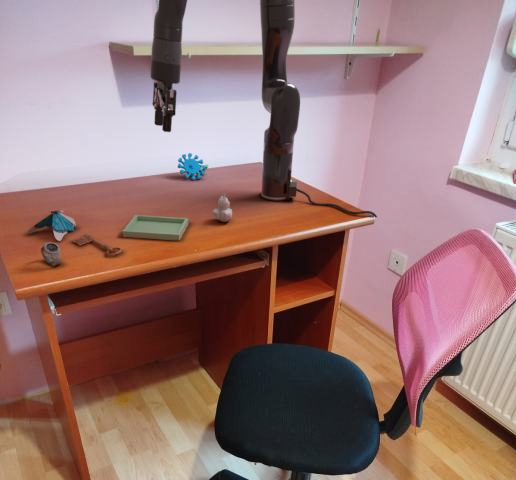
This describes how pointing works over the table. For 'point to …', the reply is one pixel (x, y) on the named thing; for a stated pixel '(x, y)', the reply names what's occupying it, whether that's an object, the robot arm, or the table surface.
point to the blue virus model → (192, 166)
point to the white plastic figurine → (222, 210)
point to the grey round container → (51, 253)
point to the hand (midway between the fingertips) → (162, 128)
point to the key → (83, 239)
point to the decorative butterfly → (56, 224)
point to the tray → (156, 227)
